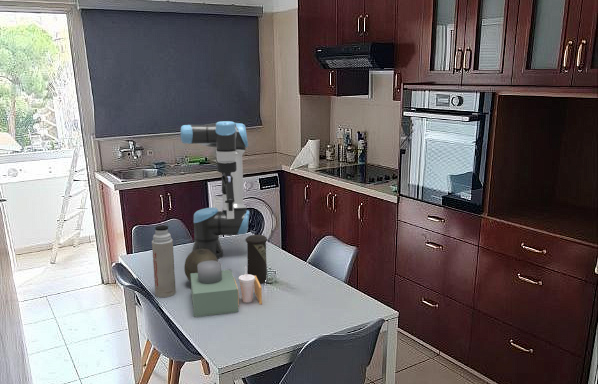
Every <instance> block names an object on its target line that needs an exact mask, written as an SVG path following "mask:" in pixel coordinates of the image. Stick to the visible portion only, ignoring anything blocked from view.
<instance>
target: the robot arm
mask: <svg viewBox="0 0 598 384" xmlns="http://www.w3.org/2000/svg"><path fill="white" fill-rule="evenodd" d="M246 128H247V127H246V125H245V124H243V123H240V122H234V121H229V120H227V121H223V120H221V121H217V122H215V123H207V124H184V125H181V127H180V141H181V143H182V144H186V145H187V144H188V145H192V144H195V145H196V144H198V145H199V146H203V147H204V146H205V147H209V148H216V153H215V154H216V162H217V163H216V169H217V170H216V171H217V172H218V173H220V174H221V193H222V210H221V211H219V209H218V208H217V207H206V208H201V209H199V210H196V211H195V212H194V214H193V231H194V232H193V234H194V242H193V245H192V250H191V252H192V251H194V250H197V249H208V250H210V251H211V252H212V253H213V254H214V255H215V256H216V257H217V260H218V259H220V258H222V257H223V256H224V250H223V246H222V244H221V242H220V236H239V235H246V234H247V233H248V230H249V228H248V227H249V222H250V221H249V219H250V210H248V209H247V206H246V205H245V204H244V178H243V177H244V175H243V174H244V171H243V169H244V168H243V154H244V153H245V152H246V148H249V141H248V135H247V129H246Z"/></svg>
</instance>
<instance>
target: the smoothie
mask: <svg viewBox="0 0 598 384" xmlns="http://www.w3.org/2000/svg"><path fill="white" fill-rule="evenodd" d="M247 273H248V269H247V265H245V266H244V274H242V275H240V276H238V282H239V286H240V292H241V297H242V298H241V299H242V302H243V303H251V302H253V297H254V281H255V276H254V275H251V274H247Z"/></svg>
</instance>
